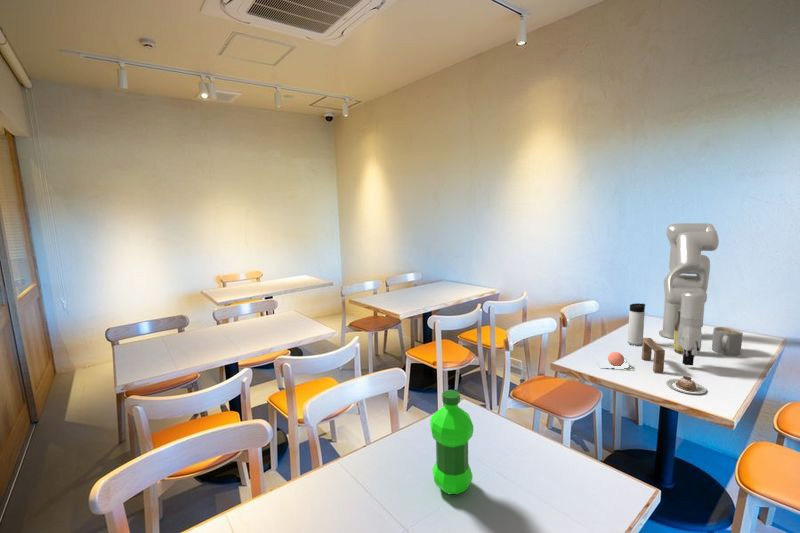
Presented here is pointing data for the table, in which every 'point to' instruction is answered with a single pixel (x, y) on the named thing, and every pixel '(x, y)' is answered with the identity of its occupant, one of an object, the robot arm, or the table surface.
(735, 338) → the coffee mug
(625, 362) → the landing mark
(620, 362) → the ball
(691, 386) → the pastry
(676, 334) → the sauce bottle
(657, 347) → the bridge
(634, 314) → the travel mug
